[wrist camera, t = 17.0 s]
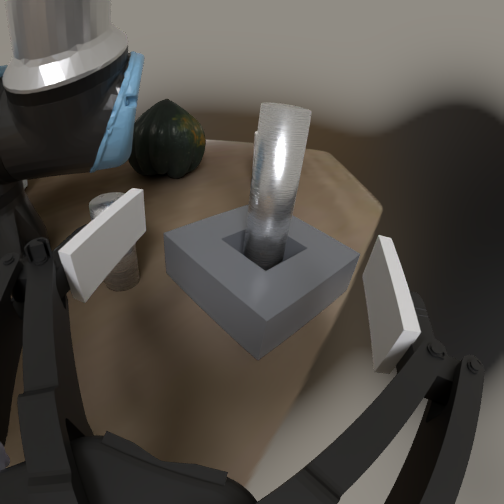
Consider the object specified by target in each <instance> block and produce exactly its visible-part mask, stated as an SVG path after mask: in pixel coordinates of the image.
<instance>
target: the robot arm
mask: <svg viewBox="0 0 504 504" xmlns="http://www.w3.org/2000/svg"><path fill="white" fill-rule="evenodd" d="M5 5H6V13H7V21H8V28H9V33H10V39H11V44H12V50H13V57H12V59H11V61H10V62H9V64H8V65H4V66H0V504H337V503H338V502H339V500H340V497H341V496H342V494H344V492H346V491H347V490H348V489H349V488H350V487H351V486H352V485H353V483H355V482H356V481H357V480H358V478H359V477H360V476H361V475H362V474H363V473H364V472H365V471H366V470H367V469H368V468H369V467H370V466H371V465H372V463H373V462H374V461H375V460H376V459H377V458H378V457H379V455H380V454H381V453H382V452H383V450H385V448H386V447H387V446H388V445H389V444H390V442H391V441H392V440H393V439H394V437H395V436H396V434H398V432H399V431H400V430H401V428H402V427H403V426H404V424H405V423H406V422H407V420H408V419H409V417H410V416H411V415H412V413H413V412H414V411H415V409H416V408H417V406H418V405H419V403H420V402H421V400H422V399H423V397H424V398H426V399H428V402H427V405H426V408H425V411H424V414H423V417H422V420H421V423H420V425H419V428H418V431H417V434H416V436H415V439H414V441H413V444H412V446H411V448H410V451H409V453H408V456H407V458H406V460H405V463H404V465H403V467H402V469H401V471H400V473H399V476H398V478H397V480H396V482H395V484H394V486H393V488H392V490H391V492H390V494H389V496H388V497H387V499H386V501H385V503H384V504H455V501H456V498H457V496H458V493H459V490H460V487H461V484H462V481H463V478H464V475H465V471H466V468H467V465H468V461H469V457H470V453H471V450H472V445H473V441H474V436H475V432H476V427H477V422H478V416H479V411H480V405H481V398H482V390H483V382H484V367H483V365H482V363H481V362H480V360H479V359H478V358H476V357H475V356H473V355H466V356H465V357H463V358H462V360H461V361H459V360H457V359H455V358H452V357H450V356H448V355H447V350H446V349H445V347H444V345H443V344H442V343H441V342H439V341H438V340H436V339H435V338H434V334H433V331H432V327H431V324H430V320H429V317H428V314H427V311H426V308H425V305H424V301H423V300H422V299H421V297H420V296H419V295H418V293H416V292H411V291H409V288H408V285H407V283H406V279H405V276H404V273H403V270H402V267H401V264H400V261H399V258H398V256H397V253H396V250H395V247H394V244H393V242H392V239H391V238H388V237H384V236H380V235H378V238H377V240H376V243H375V245H374V248H373V251H372V253H371V256H370V258H369V261H368V263H367V266H366V268H365V271H364V273H363V282H364V288H365V295H366V302H367V308H368V317H369V325H370V333H371V343H372V353H373V364H374V372H377V373H385V374H390V373H391V372H392V370H393V369H394V368H395V367H396V368H397V375H396V376H395V377H394V378H393V380H392V381H391V382H390V383H389V384H388V385H387V387H386V388H385V389H384V390H383V391H382V393H381V394H380V395H379V396H378V397H377V398H376V399H375V400H374V401H373V403H372V404H371V405H370V406H369V407H368V408H367V409H366V410H365V411H364V412H363V413H362V414H361V415H360V416H359V418H357V419H356V420H355V421H354V423H352V424H351V425H350V426H349V427H348V428H347V429H346V430H345V431H344V432H343V433H342V434H341V435H340V436H339V437H338V438H337V439H336V440H335V441H334V442H333V443H332V444H330V445H329V446H328V447H327V448H326V449H325V450H324V451H323V452H322V453H320V454H319V455H318V456H317V457H316V458H315V459H313V460H312V461H311V462H310V463H309V464H307V465H306V466H305V467H304V468H303V469H301V470H300V471H299V472H298V473H296V474H295V475H294V476H293V477H291V478H290V479H289V480H287V481H286V482H285V483H283V484H282V485H281V486H279V487H278V488H277V489H275V490H274V491H272V492H271V493H270V494H268V495H267V496H265V497H264V498H262V499H261V500H260V501H258V502H257V501H256V499H255V498H254V497H253V495H252V494H251V493H250V492H249V491H248V490H247V489H246V488H244V487H243V486H242V485H241V484H239V483H237V482H236V481H234V480H232V479H230V478H228V477H227V473H228V472H225V471H221V470H216V469H212V468H209V467H205V466H201V465H197V464H187V463H175V462H164V461H160V460H158V459H157V458H155V457H154V456H152V455H151V454H149V453H148V452H146V451H145V450H143V449H142V448H140V447H139V446H138V445H136V444H135V443H133V442H131V441H128V440H126V439H124V438H121V437H119V436H117V435H115V434H112V433H110V432H108V431H106V433H105V436H97V435H95V436H94V435H93V432H92V430H91V428H90V426H89V424H88V422H87V419H86V416H85V412H84V408H83V403H82V399H81V394H80V389H79V384H78V379H77V373H76V367H75V361H74V354H73V347H72V339H71V330H70V321H69V309H68V299H67V296H66V293H67V292H68V291H69V290H71V293H72V296H73V298H74V299H76V300H79V301H81V302H84V303H85V302H86V301H87V300H88V299H89V297H90V296H91V295H92V294H93V292H94V291H95V290H96V289H97V287H98V286H99V285H100V284H101V282H102V281H103V280H104V279H105V278H106V276H107V275H108V274H109V273H110V272H111V270H112V269H113V268H114V267H115V266H116V264H117V263H118V262H119V261H120V260H121V259H122V257H123V256H124V255H125V254H126V253H127V252H128V251H129V249H130V248H131V247H132V246H133V245H134V244H135V243H136V241H137V240H138V239H139V238H140V237H141V236H142V235H143V234H144V233H145V232H146V222H145V209H144V193H143V190H142V189H136V188H132V189H130V190H129V191H128V192H126V193H125V194H124V195H123V196H121V197H120V198H119V199H118V200H116V201H115V202H114V203H113V204H111V205H110V206H109V207H108V208H106V209H105V210H104V211H103V212H102V213H100V214H99V215H98V216H97V217H96V218H95V219H93V220H92V221H91V222H90V223H89V224H88V225H87V224H86V225H84V226H82V227H80V228H78V229H76V230H75V231H74V232H73V233H72V234H71V235H70V236H69V237H67V238H66V240H64V241H63V242H62V243H61V244H60V245H59V246H58V247H56V248H55V249H54V250H53V251H51V248H50V241H49V238H48V234H47V230H46V227H45V225H44V223H43V221H42V220H41V218H40V217H39V215H38V213H37V212H36V210H35V208H34V207H33V205H32V203H31V202H30V200H29V198H28V197H27V195H26V193H25V190H24V186H23V181H22V180H28V179H35V178H42V177H49V176H58V175H66V174H76V173H86V172H90V173H92V172H95V171H96V170H101V169H107V168H113V167H118V166H121V165H122V164H124V163H125V162H126V161H127V160H128V159H129V157H130V155H131V151H132V141H133V132H134V122H135V114H136V106H137V100H138V93H139V86H140V80H141V75H142V69H143V64H144V56H143V55H142V54H140V53H136V52H130V53H128V38H127V34H126V33H125V32H124V31H122V30H120V29H119V28H118V27H116V26H114V25H113V24H112V23H111V21H110V15H111V0H5ZM11 296H12V298H11ZM22 345H23V382H24V393H23V394H19V396H18V401H17V404H18V415H19V423H20V431H21V438H22V444H23V450H24V456H25V461H24V462H21V463H19V464H16V465H14V466H11V467H8V468H6V469H5V467H7V466H8V465H9V463H10V458H9V456H8V455H7V454H6V453H5V449H4V446H5V442H6V437H7V433H8V426H9V418H10V410H11V402H12V395H13V389H14V383H15V378H16V372H17V367H18V363H19V358H20V354H21V349H22ZM226 477H227V478H226Z"/></svg>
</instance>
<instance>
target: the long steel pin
mask: <svg viewBox="0 0 504 504" xmlns="http://www.w3.org/2000/svg"><path fill="white" fill-rule="evenodd" d="M311 113H312V112H311V111H310V110H308V109H305V108H301V107H297V106H292V105H286V104H279V103H261V109H260V117H259V125H258V132H257V140H256V148H255V156H254V165H253V173H252V181H251V189H250V197H249V206H248V214H247V222H246V231H245V239H244V248H243V255H244V256H245V257H247V258H248V259H249V260H251V261H252V262H254V263H255V264H256V265H258V266H259V267H261V268H262V269H263V270H265V271H267V270H269V269H271V268H272V267H274V266H276V265H278V264H280V263H282V262H283V258H284V253H285V248H286V244H287V239H288V234H289V229H290V224H291V219H292V215H293V210H294V205H295V199H296V194H297V189H298V184H299V179H300V174H301V168H302V163H303V158H304V152H305V147H306V141H307V136H308V130H309V125H310V118H311Z"/></svg>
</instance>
